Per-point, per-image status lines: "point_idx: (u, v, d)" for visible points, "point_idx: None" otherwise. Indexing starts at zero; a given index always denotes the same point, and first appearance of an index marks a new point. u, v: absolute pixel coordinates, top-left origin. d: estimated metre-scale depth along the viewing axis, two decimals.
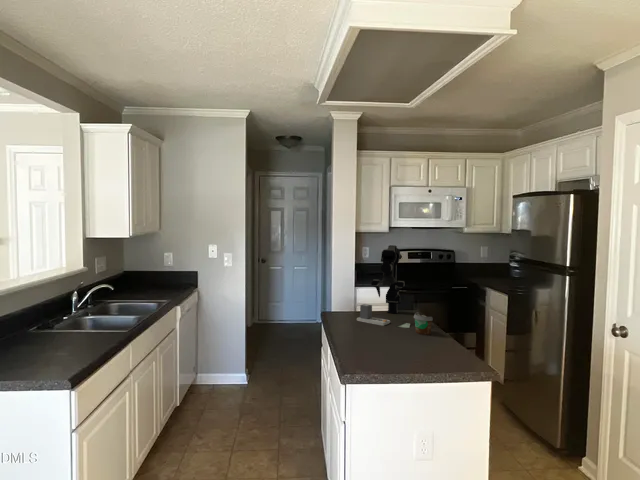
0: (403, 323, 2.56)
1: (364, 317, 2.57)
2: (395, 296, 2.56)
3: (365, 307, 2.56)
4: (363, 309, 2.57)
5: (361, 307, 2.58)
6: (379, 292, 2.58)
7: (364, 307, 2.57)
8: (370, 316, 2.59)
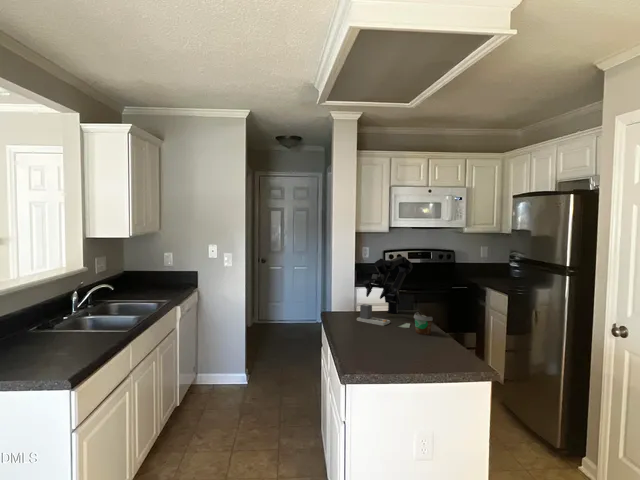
0: (403, 323, 2.56)
1: (364, 317, 2.57)
2: (380, 296, 2.63)
3: (365, 307, 2.56)
4: (363, 309, 2.57)
5: (361, 307, 2.58)
6: (368, 291, 2.69)
7: (364, 307, 2.57)
8: (370, 316, 2.59)
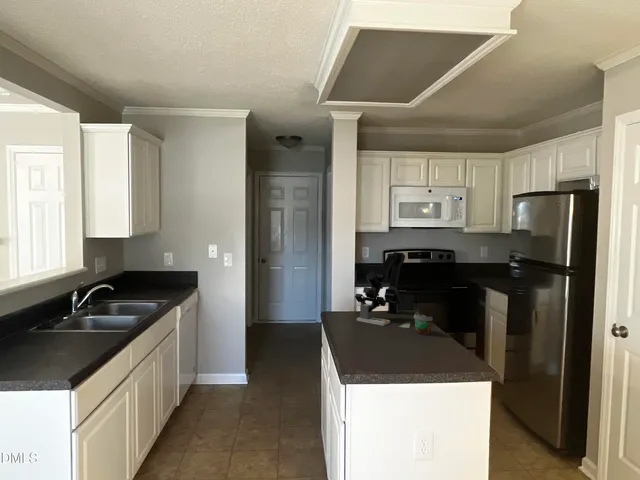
0: (403, 323, 2.56)
1: (364, 317, 2.57)
2: (369, 309, 2.57)
3: (365, 307, 2.56)
4: (363, 309, 2.57)
5: (361, 307, 2.58)
6: None
7: (364, 307, 2.57)
8: (370, 316, 2.59)
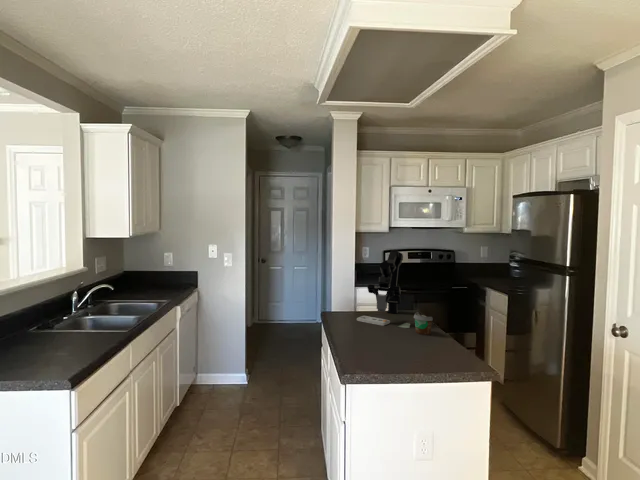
0: (403, 323, 2.56)
1: (381, 307, 2.52)
2: (386, 299, 2.52)
3: (383, 297, 2.51)
4: (380, 299, 2.52)
5: (378, 297, 2.52)
6: None
7: (381, 297, 2.51)
8: (386, 306, 2.54)
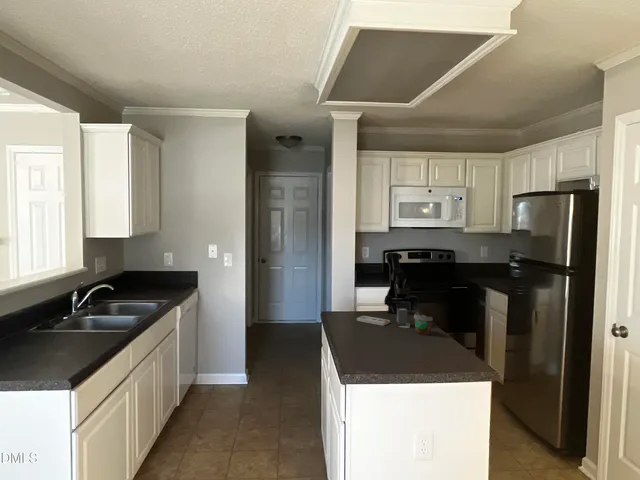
0: None
1: (403, 322, 2.50)
2: (410, 310, 2.51)
3: (404, 311, 2.50)
4: (402, 314, 2.50)
5: (400, 312, 2.50)
6: (394, 307, 2.52)
7: (403, 311, 2.50)
8: None
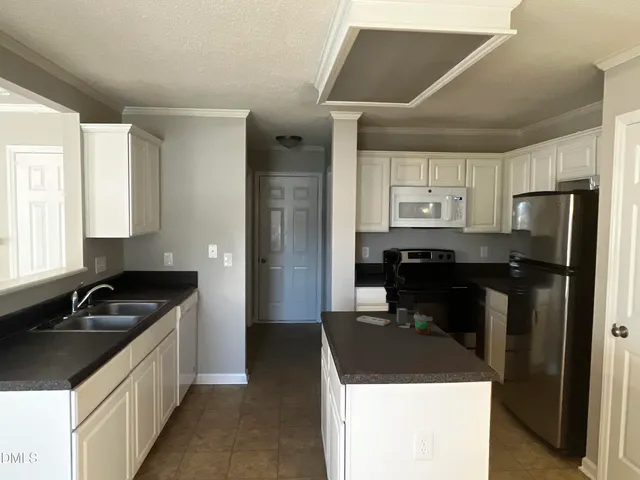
0: None
1: (403, 322, 2.50)
2: (392, 293, 2.75)
3: (404, 311, 2.50)
4: (402, 314, 2.50)
5: (400, 312, 2.50)
6: (391, 293, 2.66)
7: (403, 311, 2.50)
8: None
